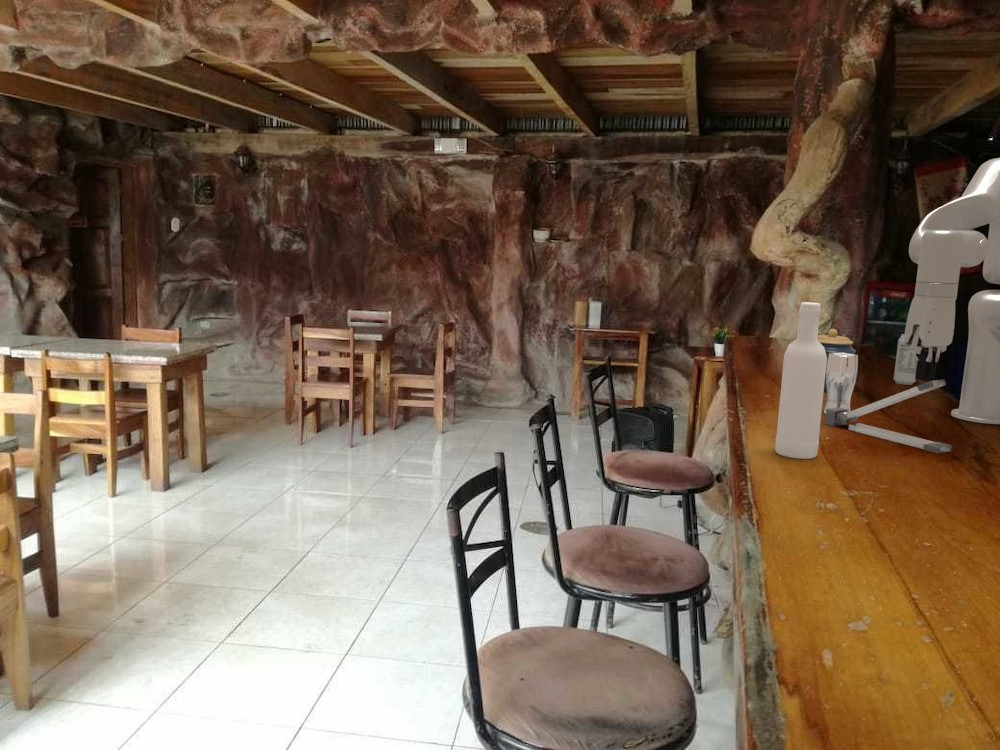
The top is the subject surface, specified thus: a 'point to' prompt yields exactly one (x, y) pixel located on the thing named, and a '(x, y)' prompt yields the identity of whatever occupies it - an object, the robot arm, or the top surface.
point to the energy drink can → (905, 364)
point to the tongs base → (887, 433)
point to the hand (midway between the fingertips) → (924, 379)
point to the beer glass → (840, 379)
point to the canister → (835, 345)
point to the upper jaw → (889, 401)
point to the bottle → (802, 389)
